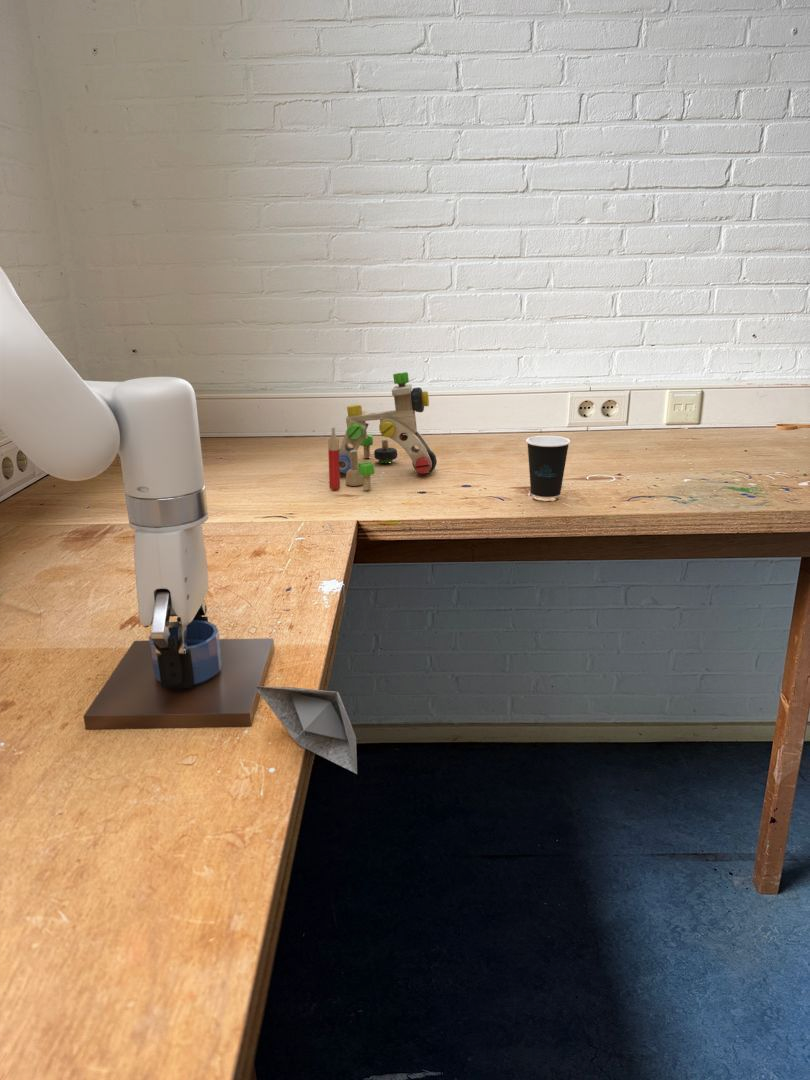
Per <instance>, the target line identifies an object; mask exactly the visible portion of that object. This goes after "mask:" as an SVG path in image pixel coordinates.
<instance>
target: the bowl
mask: <svg viewBox="0 0 810 1080" xmlns="http://www.w3.org/2000/svg"><path fill="white" fill-rule="evenodd" d="M176 622H180V621H177V620H176ZM169 632H170V636H175V637H176V639H177V640H178V628H173V629H169ZM219 639H220V630H219V628H218V627H217V625H216V624H214V623H212V622H211V621H209V620H208V621H202V620H192V622H190V623H189V624H188V625H187V650H190V651H191V659H192V667H193V675H194V684H193V685H197V684H200V683H203V682H205V681H207V680H209V679H210V678H212V677H213V676H214V675H216V674H217V673H218V672H219V671H220V669H221V666H222V661H221V651H220V640H219ZM148 641H149V644H150V651H151V659H152V667H153V673H154V677H155V679H157V680H158V681H160V682H161V680H160V673H159V666H158V658H157V655H156V647H155V646H154V642H153V640H152V639H151V634H150V635H149V636H148Z"/></svg>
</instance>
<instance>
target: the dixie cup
mask: <svg viewBox="0 0 810 1080" xmlns="http://www.w3.org/2000/svg"><path fill="white" fill-rule="evenodd" d="M525 442H526V443H527V457H528V472H529V485H530V494H531V496H534V497H536V498H542V499H550V498H556V497H558V496H559V497H560V495H561V492H562V486H563V480H564V473H565V470H566V462H567V456H568V451H569V445H570V444H571V440H570V439H569V438H567V437H563V436H558V435H535V436H530V437H528V438H526V441H525Z"/></svg>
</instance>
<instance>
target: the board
mask: <svg viewBox="0 0 810 1080" xmlns="http://www.w3.org/2000/svg"><path fill="white" fill-rule="evenodd" d="M219 640H220V651H221V661H222V666H221V669H220V671H219V672H218V673H217V674H216V675H214V676H213V677H212V678H210V679H209V680H207V681H205V682H203V683H200V684H197V685H193V686H192V687H191V688H163V687H162V686H161V682H160V681H158V680H157V679H155V677H154V673H153V667H152V659H151V651H150V644H149V640H134V641H133V642H132V643H131V645H130V646H129V648H128V649H127V651H126V652H125V654H124V656H122V658H121V660H120V661H119V662H118V664H117V666H116V667H115V669H114V670H113V671H112V672H111V675H110V676H109V677H108V679H107V680H106V681H105V684H104V685H103V687H102V688H101V689H100V691H99V692H98V693H97V695H96V696H95V698H94V700H93V701H92V703H91V704H90V706H89V707H88V709H87V710H86V712H85V713H84V715H83V723H84V728H85V730H121V729H122V730H124V729H125V730H126V729H130V730H131V729H175V728H176V729H178V728H180V729H181V728H229V727H230V728H231V727H234V728H235V727H236V728H237V727H252V724H253V721H254V718H255V714H256V712H257V707H258V705H259V701H260V698H261V695H260V693H259V692H258V691H257V689H256V688H255V687H254V686H260V687H264V685H265V681H266V678H267V675H268V672H269V669H270V665H271V662H272V658H273V655H274V652H275V642H274V641H275V639H274V638H272V637H270V638H269V637H268V638H267V637H266V638H223V639H222V638H219Z"/></svg>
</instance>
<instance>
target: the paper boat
mask: <svg viewBox="0 0 810 1080" xmlns="http://www.w3.org/2000/svg"><path fill="white" fill-rule="evenodd" d="M254 687H255V688H256V689H257V691H258V692H259V693H260V697H261V698H262V699H263V700H264V701H265V703H266V704H267V705H268V707H269V708H270V710H271V711H272V712H273V714H274V715H275V717H276V718H277V719H278V720H279V722H280V723H281V724H282V726H283V727H284V729H285V730H286V732H287V733H288V734H289V735H290V737H291V738H292V740H294V742H295V743H296V745H298V746H299V747H301V748H303V749H305V750H308V751H310V752H311V753H314V754H316V755H317V756H320V757H322V758H324V759H326V760H328V761H329V762H332V763H333V764H336V765H338V766H340V767H342V768H344V769H346V770H348V771H350V772H352V773H354V774H356V775H358V756H357V754H358V753H357V737H356V734H355V731H354V729H353V726H352V723H351V721H350V718H349V716H348V713H347V711H346V707H345V706H344V702H343V700H342V698H341V695H340V693H339V691H334V690H333V691H331V690H321V689H314V688H313V689H312V688H305V687H304V688H303V687H293V686H263V687H260V686H254Z"/></svg>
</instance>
